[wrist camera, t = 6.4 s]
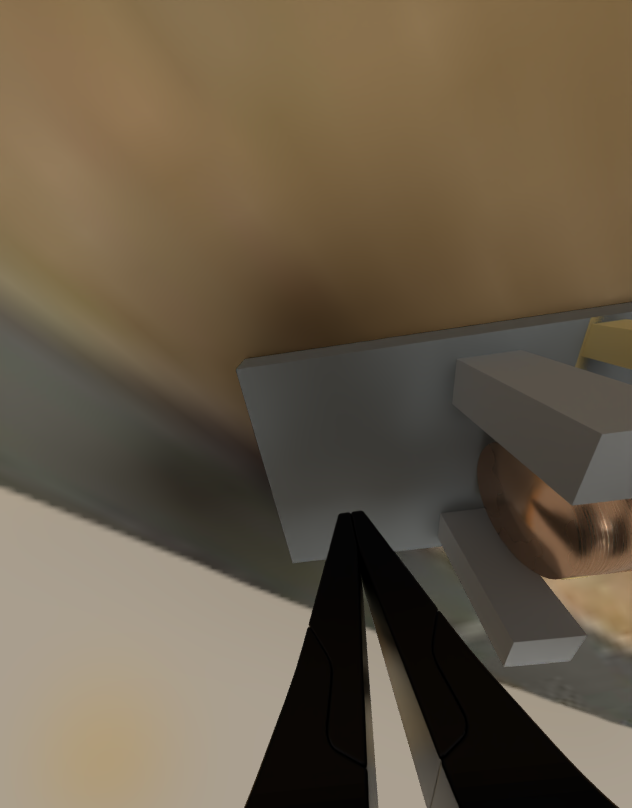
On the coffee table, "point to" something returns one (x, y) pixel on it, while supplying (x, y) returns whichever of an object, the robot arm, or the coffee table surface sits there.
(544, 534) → the copper tube
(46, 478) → the coffee table surface
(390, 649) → the robot arm
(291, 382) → the board
